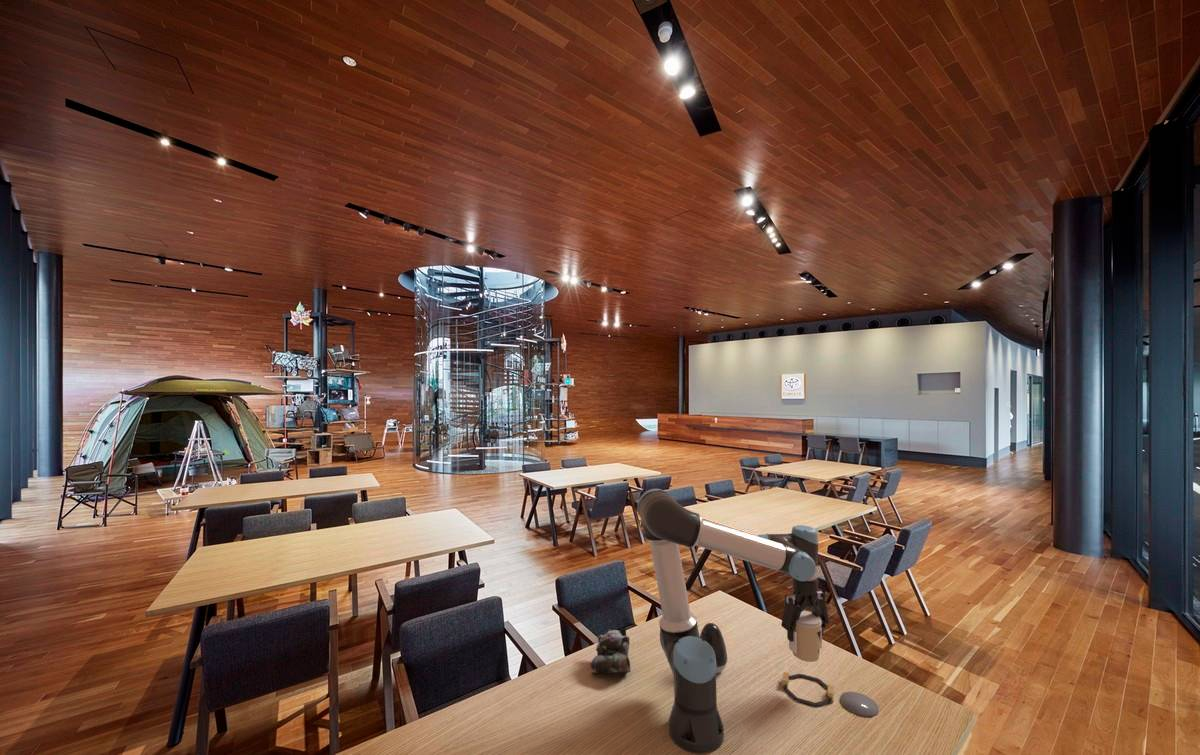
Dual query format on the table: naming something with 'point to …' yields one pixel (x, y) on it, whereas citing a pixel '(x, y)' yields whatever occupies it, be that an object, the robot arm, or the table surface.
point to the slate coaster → (859, 704)
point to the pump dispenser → (715, 644)
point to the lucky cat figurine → (612, 653)
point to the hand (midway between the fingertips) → (805, 648)
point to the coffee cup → (808, 636)
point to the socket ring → (830, 687)
